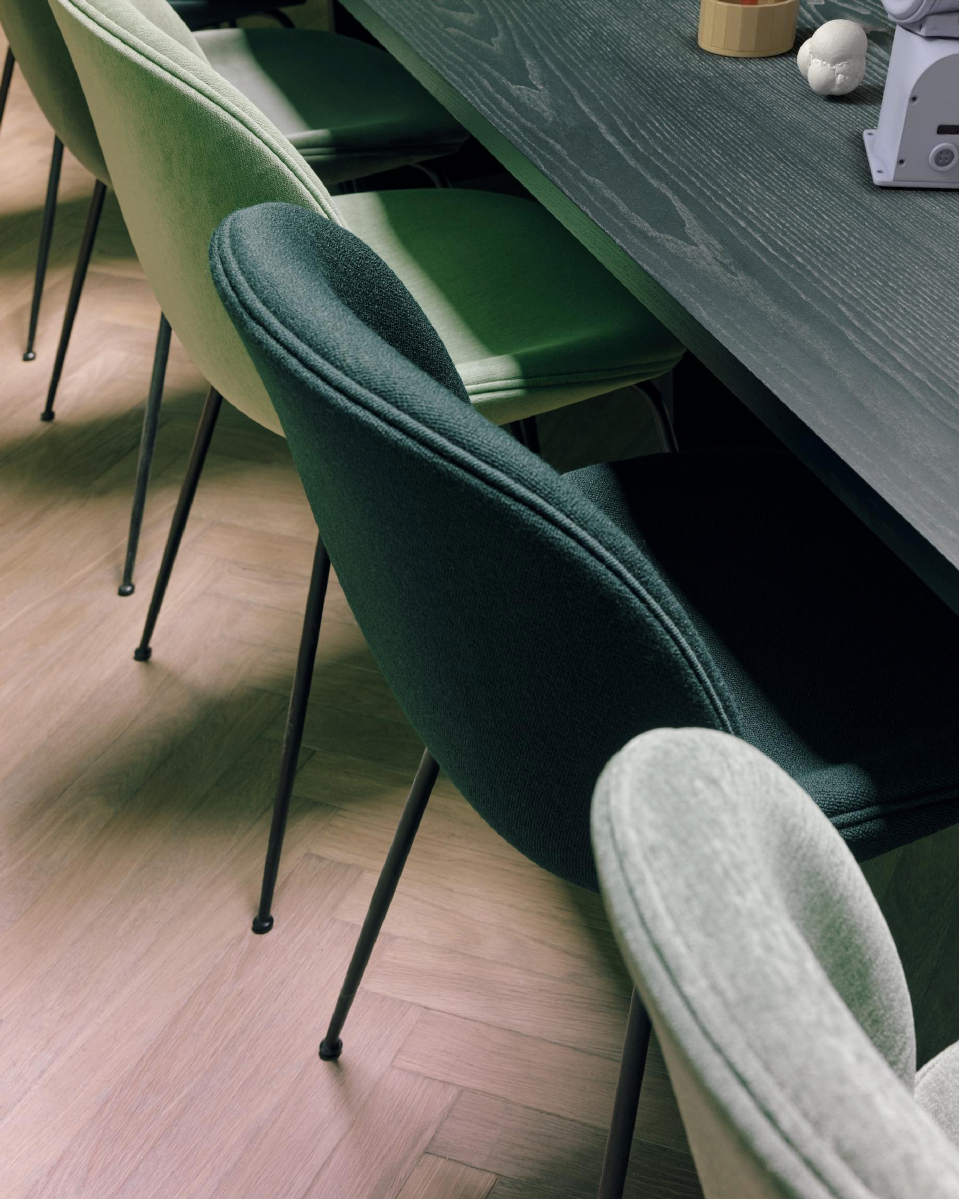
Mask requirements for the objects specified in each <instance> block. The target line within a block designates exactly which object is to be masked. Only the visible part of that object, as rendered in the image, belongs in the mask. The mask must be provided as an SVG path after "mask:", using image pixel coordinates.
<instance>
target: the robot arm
mask: <svg viewBox="0 0 959 1199" xmlns="http://www.w3.org/2000/svg"><path fill="white" fill-rule="evenodd" d="M880 2H881V3H882V6H883V8H884V10H885V12H886V13H887V18H888V20H890V21H892V22H894V23H895V24H896V25H895V32H894V36H893V42H892V47H891V52H890V57H889V63H888V67H887V68H888V69H887V74H886V79H885V84H884V89H883V96H882V99H881V100H882V101H881V105H880V106H881V107H880V112H879V117H878V122H877V128H873V129H872V128H871V129H870V128H868V129H865V130H863V132H862V140H863V144H864V146H865V147H864V148H865V151H866V152H865V153H866V157H867V162H868V164H869V169H870V173H871V178H872V182H873V184H874V185H876V186H877V187H878V186H879V187H894V188H895V187H898V188H899V187H901V188H902V187H903V188H929V189H959V0H880Z"/></svg>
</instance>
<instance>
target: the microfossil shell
mask: <svg viewBox="0 0 959 1199" xmlns="http://www.w3.org/2000/svg"><path fill="white" fill-rule="evenodd" d="M867 51H868V38H867V34H866V32H865V30H864V28H863V27H862V26H861V25H859V24H858V23H856V22H854V21H852V20H849V19H842V18H841V19H839V18H838V19H832V20H829V21H827V22H824V23H823V24H822V25H821V26H820V27H819V28H817V29H816V30H815V32H814V33H813V35H812V37H809V38H808V39H807V40H805V41H804V42H803V44H802V45H801V46H800V47H799V50H798V53H797V57H796V64H797V67H798V70H799V72H800V74H801V75H802V77H803V78H804V79H806V80H807V81H808V84H809V87H810V88H811V90H812V91H813V92H815V93H816V94H818V95H821V96H829V95H832V96H843V95H847V94H849V93H851V92H853V91H854V90H856V88H858V87H859V86H860V84H861V83H862V82H863V80H864V77H865V75H866V70H867V61H866V54H867Z"/></svg>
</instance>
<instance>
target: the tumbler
mask: <svg viewBox="0 0 959 1199" xmlns="http://www.w3.org/2000/svg"><path fill="white" fill-rule="evenodd" d="M800 3H801V0H758V5H741V0H700V9H699V19H698V30H697V31H698V32H697V44H698V46H699V48H701V49H702V50H704V51H707V52H709V53H712V54H716V55H720V56H726V57H732V58H763V57H765V58H766V57H773V56H777V55H780V54H784V53H787V52H788V51H790V50H791V49H793V47H794V44H795V39H796V33H797V26H798V20H799V19H798V18H799V12H800V5H801V4H800Z"/></svg>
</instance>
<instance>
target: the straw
mask: <svg viewBox="0 0 959 1199" xmlns="http://www.w3.org/2000/svg"><path fill="white" fill-rule="evenodd" d="M741 5H758V0H741Z"/></svg>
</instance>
